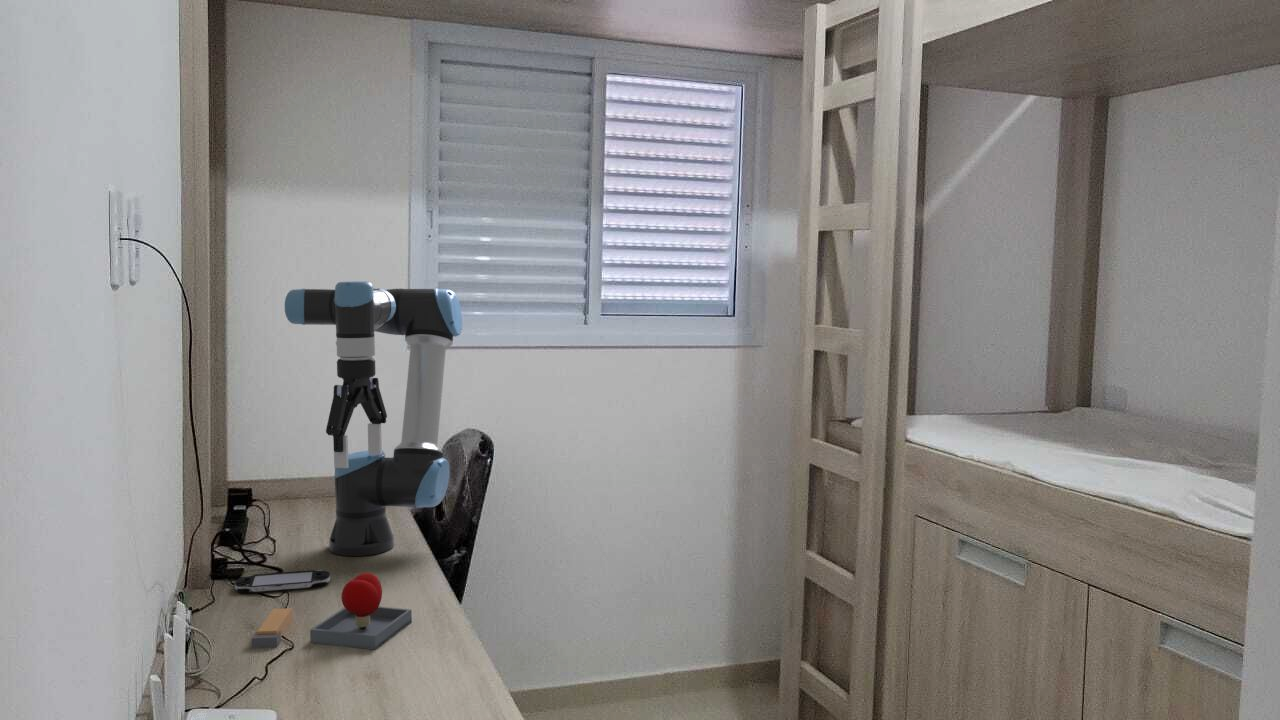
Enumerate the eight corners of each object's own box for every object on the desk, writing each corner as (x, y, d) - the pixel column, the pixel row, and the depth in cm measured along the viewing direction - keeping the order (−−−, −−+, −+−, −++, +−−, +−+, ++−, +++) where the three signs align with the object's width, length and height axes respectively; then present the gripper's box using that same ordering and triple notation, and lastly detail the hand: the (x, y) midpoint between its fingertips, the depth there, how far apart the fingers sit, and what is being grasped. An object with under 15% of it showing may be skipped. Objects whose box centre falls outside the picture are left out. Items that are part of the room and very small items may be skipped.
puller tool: (271, 621, 201) (271, 608, 201) (294, 620, 201) (294, 608, 201) (252, 648, 187) (251, 635, 187) (277, 647, 188) (276, 634, 187)
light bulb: (368, 638, 190) (367, 586, 189) (333, 635, 191) (332, 583, 190) (390, 621, 199) (389, 570, 198) (357, 618, 200) (355, 568, 199)
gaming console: (331, 577, 229) (330, 566, 228) (329, 590, 220) (329, 578, 220) (237, 584, 224) (237, 573, 224) (232, 597, 215) (232, 585, 215)
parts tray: (350, 616, 203) (350, 603, 203) (411, 622, 200) (411, 609, 200) (310, 642, 190) (310, 629, 190) (375, 649, 187) (375, 636, 186)
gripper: (369, 351, 222) (372, 448, 225) (305, 363, 198) (308, 472, 201) (401, 352, 221) (403, 450, 223) (340, 365, 196) (343, 474, 199)
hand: (358, 461), depth 212 cm, fingers open, 13 cm apart
